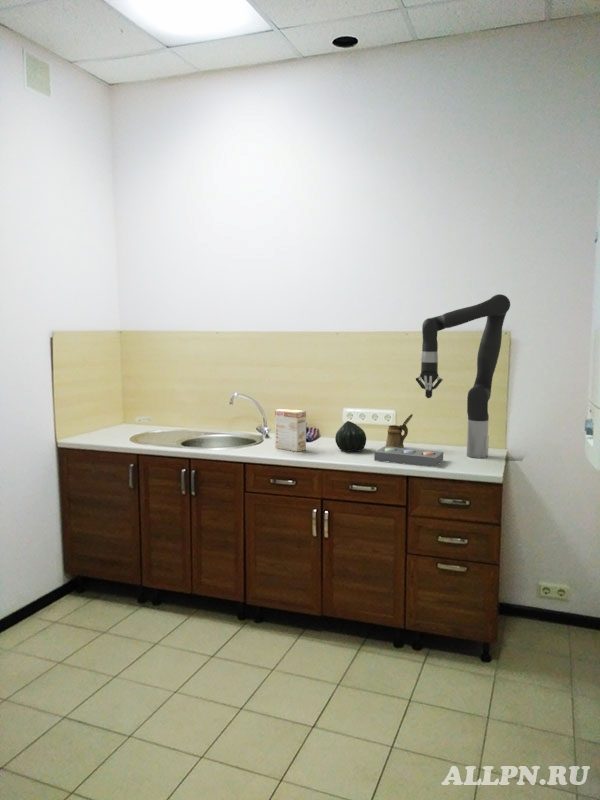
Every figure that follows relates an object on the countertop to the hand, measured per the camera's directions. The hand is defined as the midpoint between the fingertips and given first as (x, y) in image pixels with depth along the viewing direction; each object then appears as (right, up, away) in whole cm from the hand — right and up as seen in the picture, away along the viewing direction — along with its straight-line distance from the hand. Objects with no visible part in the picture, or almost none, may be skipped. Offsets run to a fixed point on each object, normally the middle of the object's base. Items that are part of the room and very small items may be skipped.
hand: (428, 397), depth 289 cm
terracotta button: (-3, -28, -14) cm, 31 cm away
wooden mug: (-12, -25, +16) cm, 32 cm away
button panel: (-11, -28, -10) cm, 32 cm away
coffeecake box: (-65, -26, +16) cm, 72 cm away
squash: (-36, -26, +12) cm, 46 cm away
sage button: (-19, -27, -6) cm, 33 cm away
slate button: (-11, -27, -10) cm, 31 cm away
